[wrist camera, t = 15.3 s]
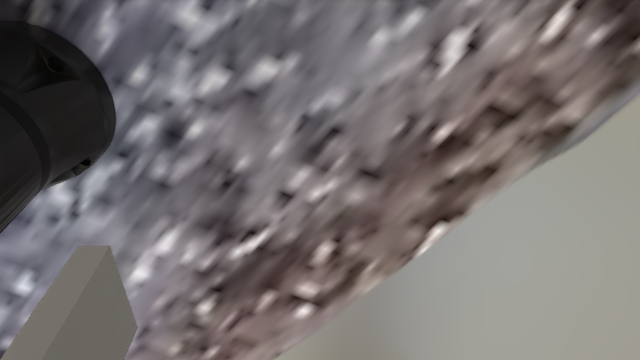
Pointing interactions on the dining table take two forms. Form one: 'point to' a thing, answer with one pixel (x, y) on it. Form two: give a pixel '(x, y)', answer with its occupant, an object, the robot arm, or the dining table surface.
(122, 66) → the dining table surface
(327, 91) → the dining table surface
